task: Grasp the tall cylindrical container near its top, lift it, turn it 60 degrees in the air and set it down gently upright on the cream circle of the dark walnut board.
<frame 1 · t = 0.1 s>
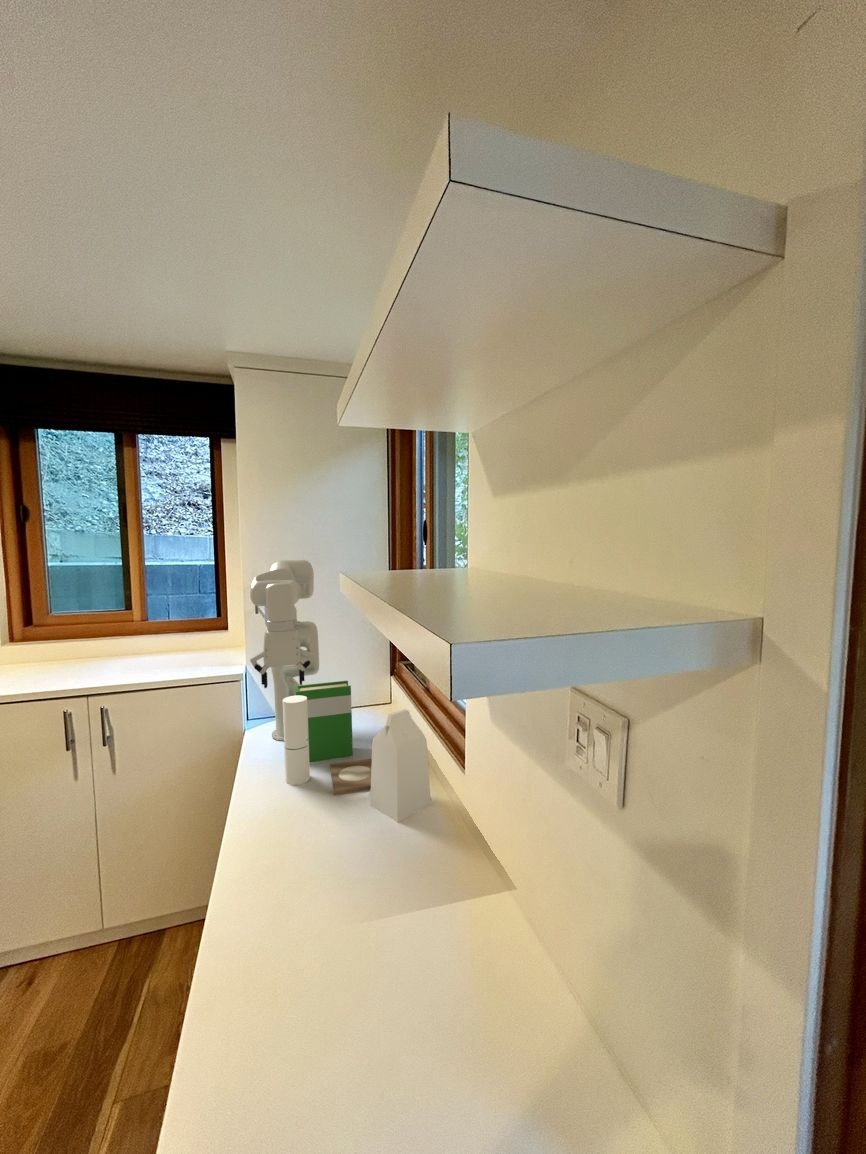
hand: (283, 685, 142), 31 cm above the worktop, fingers open, 9 cm apart
hardback book: (325, 756, 168), on the worktop
milk: (400, 805, 135), on the worktop
walnut board: (355, 777, 152), on the worktop
cylindrical container: (297, 779, 151), on the worktop
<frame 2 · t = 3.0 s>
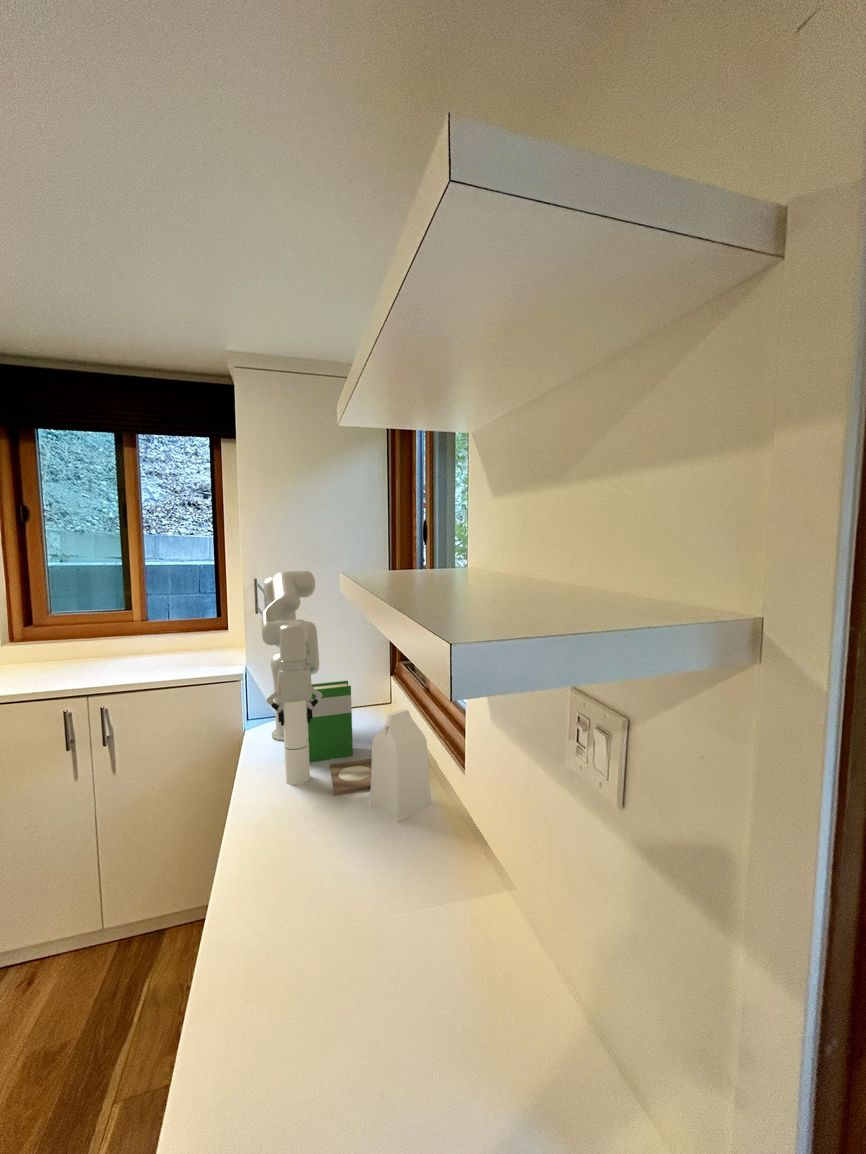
hand: (295, 722, 150), 18 cm above the worktop, fingers closed on cylindrical container, 7 cm apart
cylindrical container: (297, 779, 151), on the worktop, touching gripper
everything else where it was.
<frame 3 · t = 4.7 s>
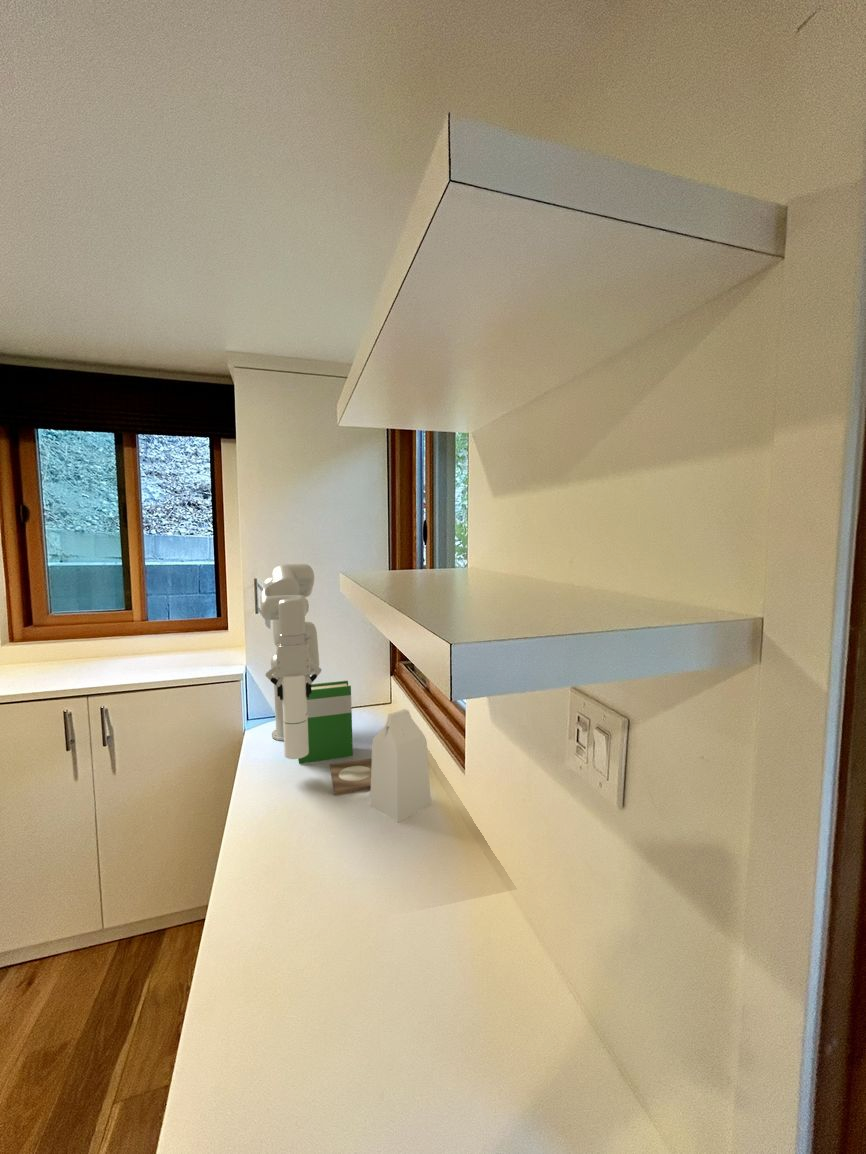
hand: (294, 696, 150), 26 cm above the worktop, fingers closed on cylindrical container, 7 cm apart
cylindrical container: (296, 754, 151), point 7 cm above the worktop, touching gripper
everything else where it was.
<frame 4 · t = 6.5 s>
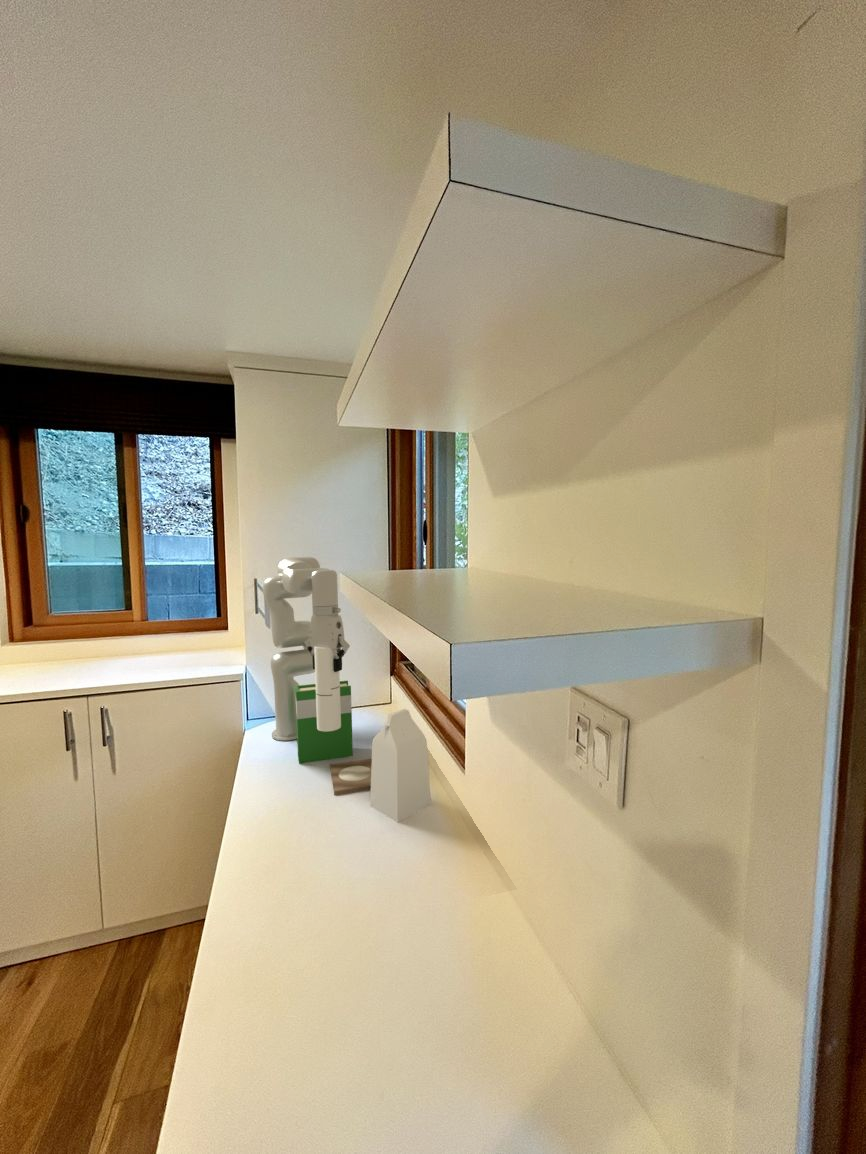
hand: (327, 669, 149), 34 cm above the worktop, fingers closed on cylindrical container, 7 cm apart
cylindrical container: (329, 727, 150), point 16 cm above the worktop, touching gripper
everything else where it was.
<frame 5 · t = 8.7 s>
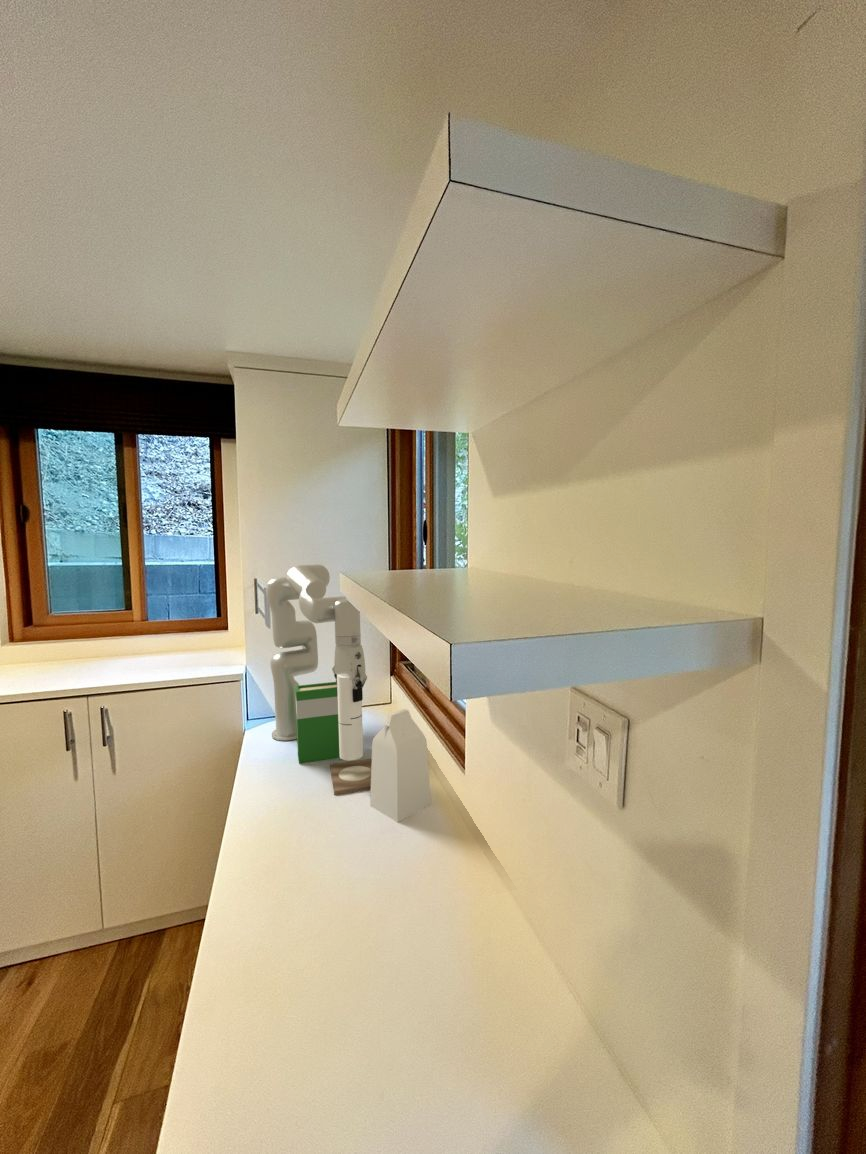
hand: (349, 698, 150), 25 cm above the worktop, fingers closed on cylindrical container, 7 cm apart
cylindrical container: (351, 755, 151), point 7 cm above the worktop, touching gripper
everything else where it was.
when the fingers open (20 cm above the worktop, at t = 10.3 s): cylindrical container stays where it is, resting on walnut board.
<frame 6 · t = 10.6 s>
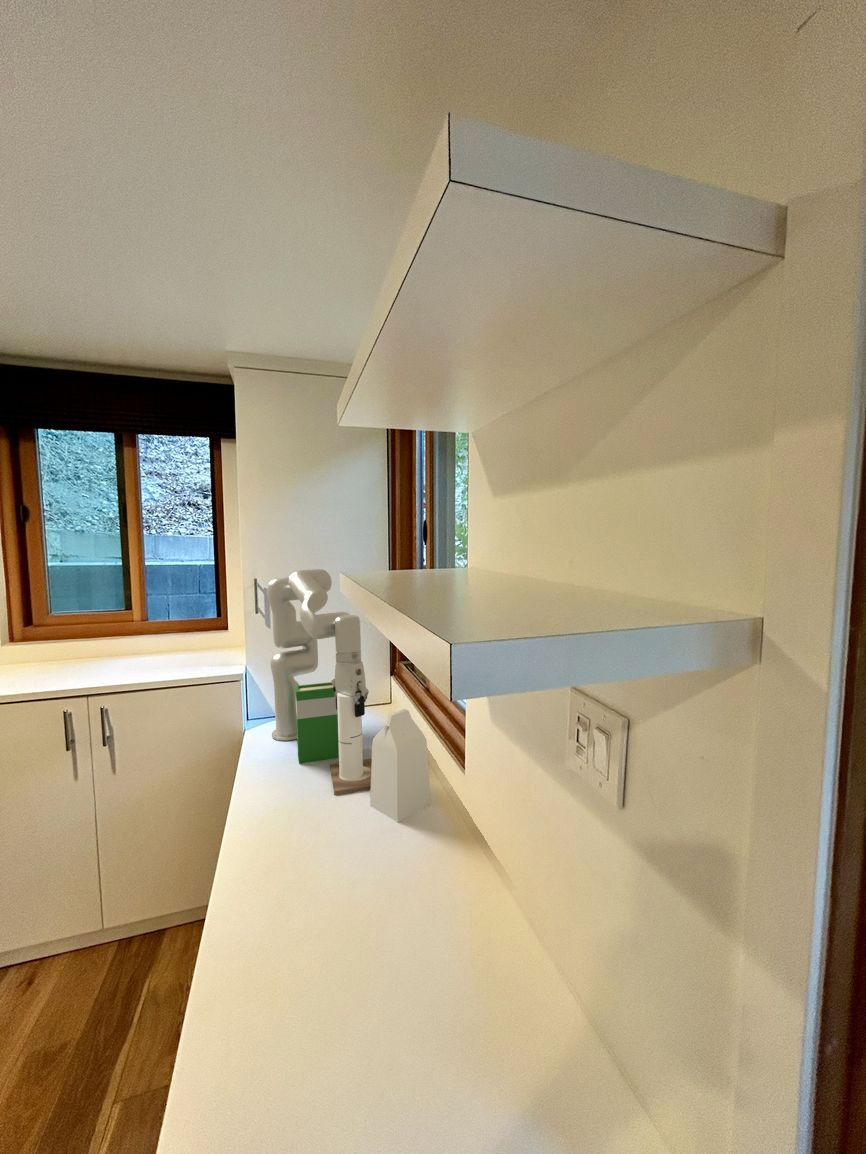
hand: (350, 712, 150), 20 cm above the worktop, fingers open, 9 cm apart
cylindrical container: (351, 774, 151), point 1 cm above the worktop, touching walnut board
everything else where it was.
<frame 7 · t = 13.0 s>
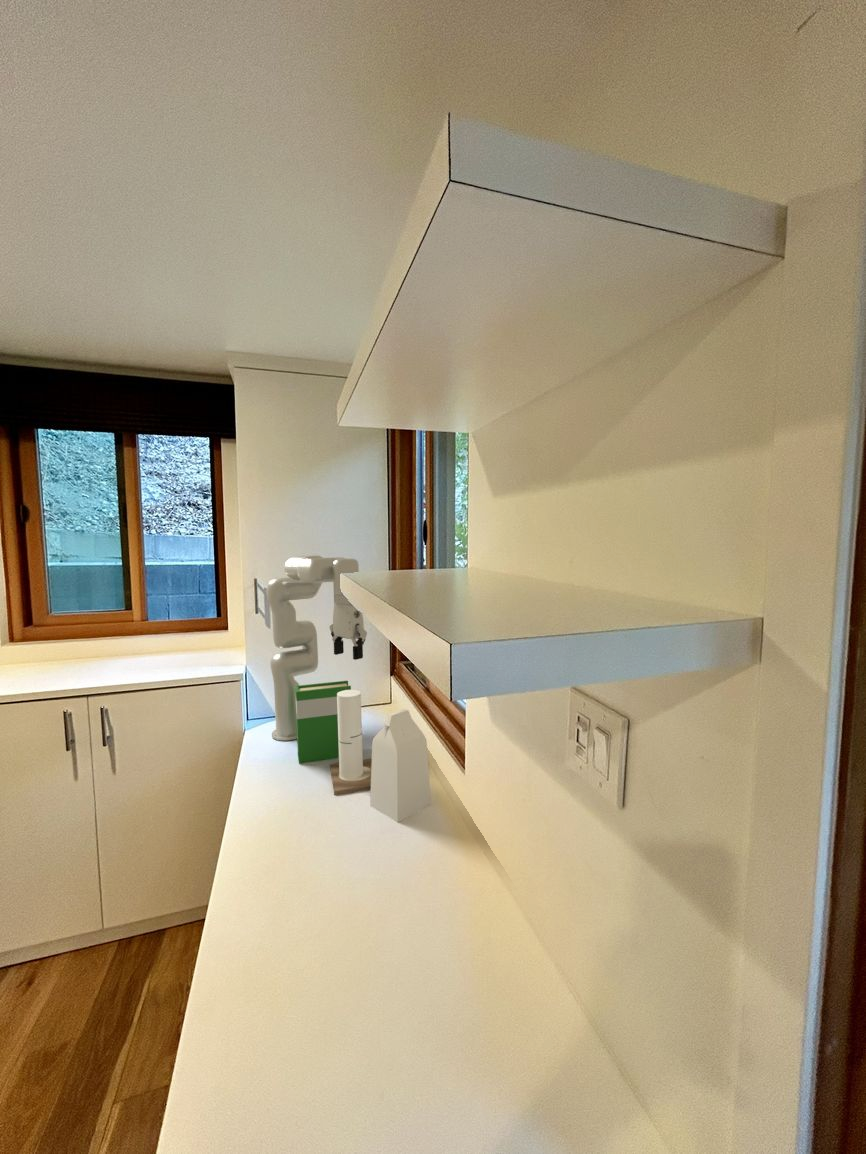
hand: (348, 656, 149), 38 cm above the worktop, fingers open, 9 cm apart
nothing on the worktop moved.
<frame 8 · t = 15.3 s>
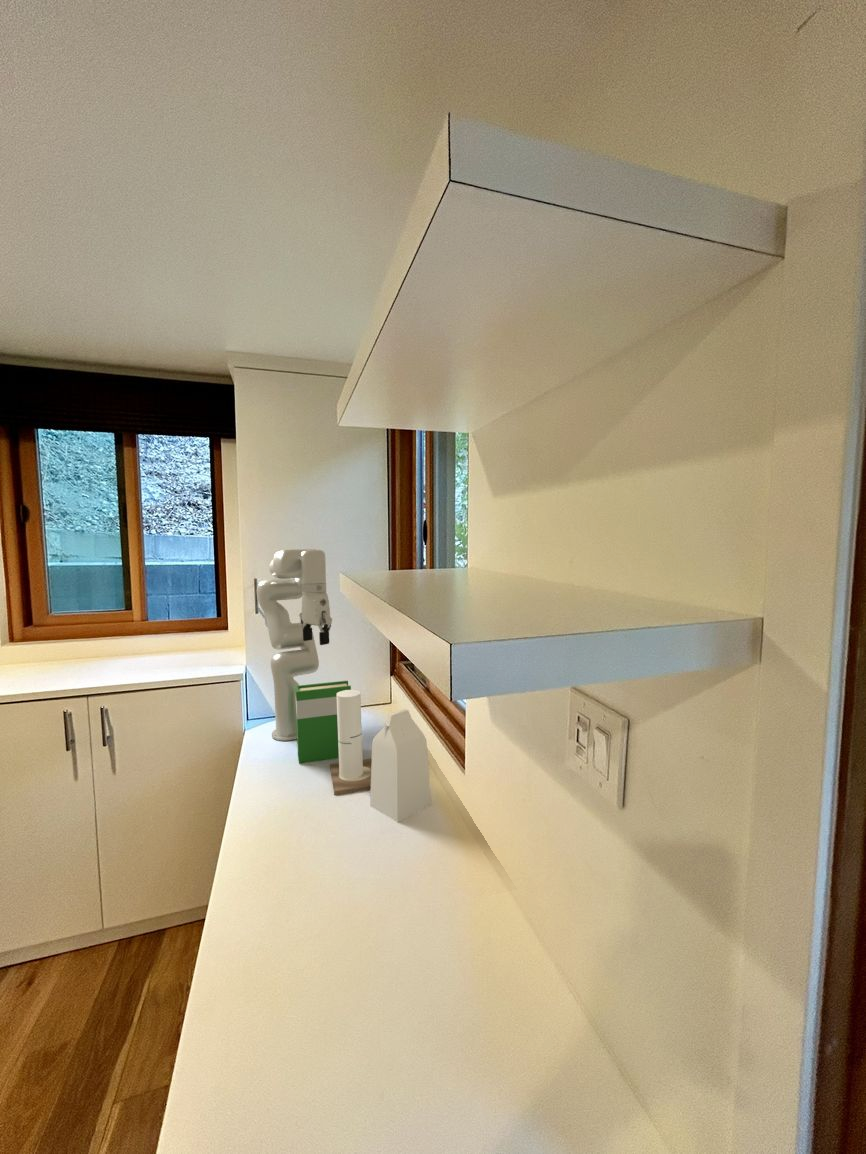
hand: (316, 642, 158), 40 cm above the worktop, fingers open, 9 cm apart
nothing on the worktop moved.
at the end: cylindrical container inside the target area on the walnut board (1.2 cm from its centre), point 1.1 cm above the walnut board's base; cylindrical container tilted 1°; the gripper is holding nothing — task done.
